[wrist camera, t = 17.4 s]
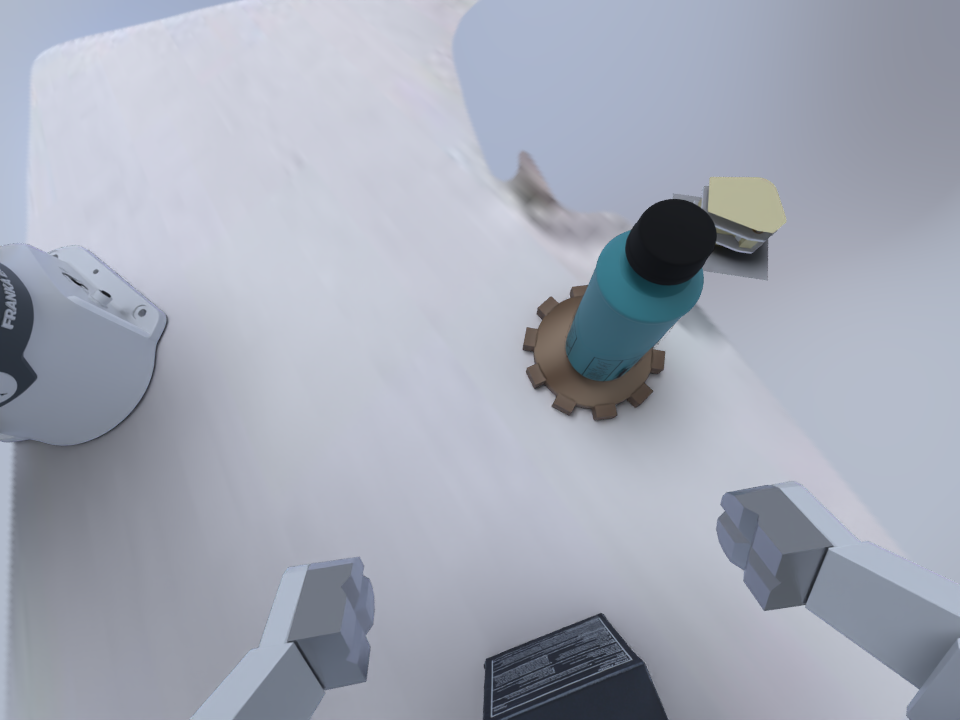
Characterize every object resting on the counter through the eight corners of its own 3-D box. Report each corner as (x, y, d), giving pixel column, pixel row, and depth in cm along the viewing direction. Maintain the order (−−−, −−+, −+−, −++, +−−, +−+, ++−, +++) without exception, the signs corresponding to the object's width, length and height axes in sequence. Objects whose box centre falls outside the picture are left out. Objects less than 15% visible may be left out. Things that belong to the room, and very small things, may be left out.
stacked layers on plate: (666, 265, 45) (688, 235, 39) (672, 193, 47) (694, 156, 42) (767, 280, 44) (804, 252, 38) (768, 206, 46) (803, 169, 41)
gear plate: (496, 349, 42) (495, 344, 41) (587, 268, 44) (590, 261, 43) (593, 448, 39) (597, 447, 38) (687, 356, 41) (693, 351, 40)
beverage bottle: (607, 402, 39) (710, 316, 20) (545, 360, 40) (587, 242, 21) (644, 346, 40) (775, 216, 21) (584, 308, 42) (656, 152, 22)
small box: (511, 751, 33) (516, 865, 23) (482, 658, 35) (474, 725, 25) (638, 698, 34) (697, 787, 23) (603, 609, 35) (643, 656, 25)
